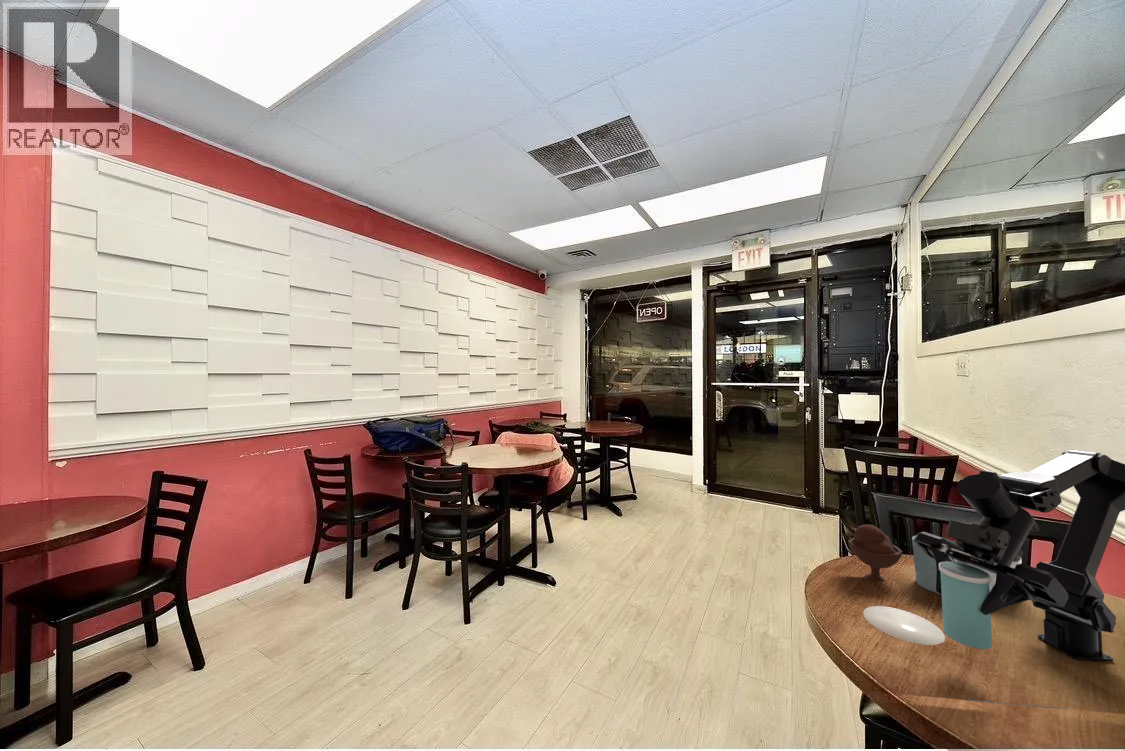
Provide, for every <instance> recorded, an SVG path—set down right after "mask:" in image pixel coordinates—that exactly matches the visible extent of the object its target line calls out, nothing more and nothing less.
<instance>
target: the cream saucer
mask: <svg viewBox="0 0 1125 751" xmlns="http://www.w3.org/2000/svg"><path fill="white" fill-rule="evenodd" d="M862 614H863V616H864V619H865V620H866V621H867V622H868V623H869V624H870V625H871V626H872V627H874V628H876V629H877V630H879V631H881V632H883V633H885V634H886V635H889V636H891V637H894V638H896V639H899V640H901V641H905V642H908V643H911V644H918V645H924V646H925V645H926V646H935V645H940V644H942V643H944V642H945V640H946V636H945V635H946V634H945V633H944V631H942V630H941V629H940V628H939V627H938V626H937V625H935V624H934V622H931V621H929V620H927V619H926V618H925V617H924V618H923V617H922V616H920V615H917V614H915V613H912V612H909V611H907V610H903V609H899V608H897V607H896V608H895V607H889V606H883V605H876V606H875V605H873V606H869V607H866V608H865V609H864V610H863V613H862Z"/></svg>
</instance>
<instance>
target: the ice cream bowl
mask: <svg viewBox="0 0 1125 751" xmlns="http://www.w3.org/2000/svg"><path fill="white" fill-rule="evenodd" d="M847 542H848V546H849V548H850V551H851V552H852V553H853V554H854V555H855V556H856V557H857V558H858V559H859V560H860V561H861V562H862V563H863V564H865V565H867V566H869V567H870V569H871V570H870V573H871V574H870V573H869V574H868V573H867V574H865V575H864V576H862V578H865V579H869V580H871V581H873V582H876V583H877V582H878V583H885V582H886V579H885V578H884V577H883V576H881V573H880V570H881V569H887V568H891V567H892V566H895V565H896V564H897V563H898V562H899V561H900V560H901V558H902V556H903V550H902V549H901V548H899V547H898V546H897V545H895V544H893V543H892V541H891V539H890V537H889V535H887V534H886V533H884V532H883V531H882V530H881V529H880V528H879V527H877V526H875V525H874V524H861V525H859V526H857V527H856V529H855V531H854V536H853V537H851V538H850V539H849V540H847Z"/></svg>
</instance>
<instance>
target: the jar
mask: <svg viewBox="0 0 1125 751" xmlns="http://www.w3.org/2000/svg"><path fill="white" fill-rule="evenodd" d="M1022 561H1023V560H1022V557H1019V556H1016V557H1015V559H1014V560H1013V562H1012V564H1011V566H1010V567H1011V568H1015V566H1016V565H1017V564H1023V563H1022ZM970 566H973V565H970ZM973 567H975V566H973ZM976 568H978V567H976ZM979 569H981V568H979ZM981 570H983V571H985V572H987V573H988V574H989V575H990V577H991V582H990V583H989V591H991V590H992V588H993V587H994V585H995V583H996V574H995V573H992V572H989V571H986V570H984V569H981Z"/></svg>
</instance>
